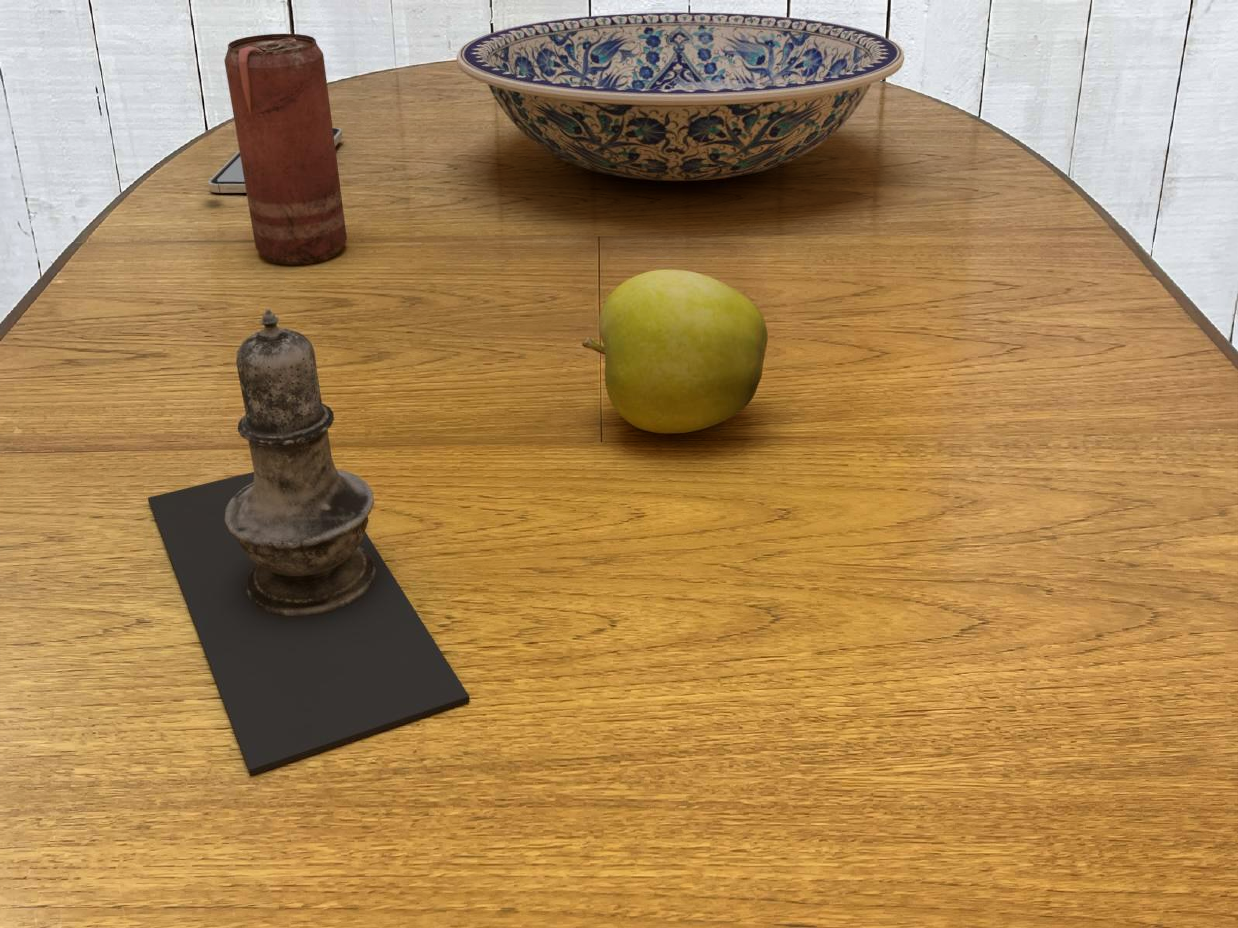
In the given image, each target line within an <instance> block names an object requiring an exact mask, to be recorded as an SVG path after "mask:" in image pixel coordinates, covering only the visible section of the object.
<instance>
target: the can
mask: <svg viewBox="0 0 1238 928" xmlns="http://www.w3.org/2000/svg"><path fill="white" fill-rule="evenodd" d="M224 67H225V71H226V72H225V73H226V79H227V85H228V92H229V97H230V103H231V109H232V114H233V121H234V127H235V133H236V139H237V142H238V143H237V145H238V151H240V157H241V163H242V169H243V175H244V181H245V187H246V193H245V194H246V197H247V198H246V199H247V204H248V210H249V217H250V223H251V229H252V234H253V240H254V246H255V249H256V251H257V252H258V254H259V255H260V256H261V257H262V258H263V259H264V260H266V261H267V262H269V263H273V264H276V265H281V266H282V265H285V266H302V265H304V266H305V265H310V264H316V263H320V262H324V261H328V260H330V259H333V258H334V257H337V256H338V255H339V254H341V252H342V251H343V250H344V247H345V245H346V243H347V239H348V235H347V228H346V221H345V214H344V213H345V212H344V206H343V198H342V189H341V182H340V173H339V166H338V159H337V151H336V146H335V142H334V134H333V120H332V111H331V104H330V96H329V88H328V87H329V86H328V82H327V81H328V79H327V72H326V66H325V56H324V53H323V50H322V49H321V47H319V45H318V43H317V39H316V38H314V36H310V35H307V34H300V33H267V34H257V35H251V36H246V37H242V38H238V39H235V40H233V41H231V42H230V41H229V43H228V44H227V51H226V54H225V57H224Z"/></svg>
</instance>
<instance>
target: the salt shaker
mask: <svg viewBox="0 0 1238 928" xmlns="http://www.w3.org/2000/svg"><path fill="white" fill-rule="evenodd" d="M279 321H280V318H279V317H278V316H276V314H275V313H274V312H272V311H271V310H270V309H266V310H265V313H264V314H263V315H262V318H261V319H260V320H259V322H260V324H262V325H263V326H264V328H262V329H260V330H259V331H256V332H255V333H253V334H251V335H250V336H248V337H247V338H246V339H245V340H243V341H242V342H241V344H240V345H239V347H238V349H237V351H236V362H235V363H236V368H237V374H238V379H239V385H240V390H241V397H242V401H243V407H244V412H245V413H244V415H242V417H241V418H240V420H239V421H238V423H237V431H238V433H239V435H240V436H241V437H242V438H243V439H244V440H246V441H247V442H248V447H249V451H250V458H251V461H252V468H253V472H254V482H253V483H251V484H249V485H248V486H246V487H244V488H242V489H241V490H240V491H239V492H238V493H237V494H236V495H235V496H234V497H233V498H232V499H231V500H230V502H229V504H228V506H227V507H226V509H225V519H224V520H225V523H226V525H227V527H228V529H229V531H230V532H231V533H232V534H234V535H235V536H236V537H237V540H238V542H239V544H240V546H241V547H242V549H243V550H244V551H245V552H246V554H247V555H248V556H249V558H250V559H251V560H252V561H253V562H255V563H256V565H255V566H254V567H253V568H252V569H251V571H250V573H249V575H248V577H247V579H246V591H247V593H248V595H249V597H250V599H251V601H253V602H254V603H255V604H256V605H257V606H258V607H260V608H262V609H264V610H267V611H269V612H271V613H276V614H282V615H287V616H306V615H313V614H320V613H324V612H327V611H331V610H334V609H337V608H340V607H342V606H344V605H346V604H348V603H350V602H352V601H354V600H355V599H357V598H358V597H359V596H361V595H362V594H363V593H365V592H366V590H367V589H368V588H369V587H370V585H371V584H372V583H373V580H374V577H375V574H376V569H375V561H374V560H373V558H372V557H371V555H370V554H369V553H368V552H367V551H365V550H364V549H362V548H361V547H359V545H360V544H361V541H362V539H363V536H364V533H365V532H366V530H367V527H368V524H369V516H370V514H371V512H372V510H373V507H374V504H375V500H374V491H373V489H372V488H371V486H370V485H369V483H368V482H366V481H365V480H364V479H363V478H361V477H359V476H358V475H357V474H354V473H352V472H348V471H347V470H342V469H338V468H336V465H335V463H334V459H333V457H332V449H331V443H330V437H329V428H330V427H332V426H333V423H334V421H335V414H334V411H333V410H332V408H331V407H330V406H328V405H327V404H324V403H323V402H322V395H321V388H320V380H319V374H318V367H317V359H316V354H315V349H314V346H313V344H312V342H311V341H310V340H309V339H308V338H307V337H306V336H305V335H304V334H302V333H300V332H299V331H295V330H292V329H289V328H283V327H281V326H278V325H277V324H278V323H279Z"/></svg>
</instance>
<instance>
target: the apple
mask: <svg viewBox="0 0 1238 928" xmlns="http://www.w3.org/2000/svg"><path fill="white" fill-rule="evenodd" d="M598 317H599V318H598V331H599V336H600V339H601V341H602V343H603V345H602V344H600V343H598V342H596V341H595V340H593V339H592V337H590V336H586V337H585V340H584V341H583V342H581V346H582V347H584V348H586V349H590V350H593V351H595V352H597V353H598V354H599V353H600V354H601V355H604V366H605V367H604V381H605V382H604V383H605V387H606V392H607V396H608V399H609V400H610V403H611V404H612V407H613V408H614V409H615V411H616V412H617V413H618V415H619V416H620V417H621V418H622V419H623V420H625V421H626V422H627V423H628V424H630V425H632V426H634V427H635V428H638V429H640V430H642V431H646V432H650V433H656V434H682V433H692V432H696V431H700V430H704V429H707V428H710V427H713V426H715V425H719V424H721V423H724V422H725V421H727V420H730V419H732V418H733V417H735V416H737V415H738V414H739V413H740V412H742V411H744V409H745V408H746V407H747V406H748V405H749V404H750V402H751V401H752V400H753V398H754V397H755V395H756V392H757V390H758V387H759V384H760V382H761V379H762V376H763V369H764V362H765V357H766V350H767V345H768V341H769V340H768V339H769V338H768V335H769V333H768V329H767V324H766V323H767V322H766V320H765V317H764V315H763V314H762V312H761V310H760V309H759V307H758V306H757V305H756V304H755V303H754V302H753V301H752V300H751V299H750V298H748V297H747V296H746V295H744V294H743V293H741V292H740V291H738V290H736V289H735V288H734V287H731V286H730V285H727V284H725V283H724V282H722V281H720V280H718V279H716V278H713V277H711V276H708V275H705V274H702V273H699V272H695V271H690V270H683V269H655V270H649V271H646V272H643V273H640V274H636V275H635V276H633V277H630V278H629V279H627V280H625V281H624V282H622V283H621V284H619V285H618V286H617V287H616V288H615V289H614V290H613V291H612V292H611V293H610V294H609V295H608V296H607V298H606V299H605V301H604V302H603V304H602V307H601V309H600V311H599V316H598Z"/></svg>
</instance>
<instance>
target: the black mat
mask: <svg viewBox="0 0 1238 928" xmlns="http://www.w3.org/2000/svg"><path fill="white" fill-rule="evenodd" d="M253 482H254V471H251V472H248V473H244V474H243V473H242V474H238V475H236V476H230V477H226V478H222V479H218V480H215V481H211V482H207V483H202V484H199V485H195V486H189V487H186V488H181V489H178V490H174V491H173V490H172V491H169V492H165V493H161V494H157V495H152V496H149V497H147V502H148V504H149V508H150V511H151V512H152V515H153V518H154V521H155V523H156V526H157V529H158V531H159V535H160V537H161V539H162V542H163V544H164V548H165V550H166V554H167V556H168V558H169V561H170V563H171V566H172V569H173V573H174V574H175V577H176V580H177V582H178V585H179V588H180V591H181V593H182V596H183V598H184V602H185V604H186V607H187V610H188V612H189V614H190V618H191V621H192V623H193V626H194V628H195V631H196V633H197V636H198V637H197V638H198V639H199V642H200V645H201V647H202V650H203V653H204V656H205V658H206V660H207V663H208V666H209V669H210V672H211V674H212V677H213V681H214V682H215V685H216V688H217V691H218V692H219V696H220V698H221V701H222V704H223V706H224V710H225V712H226V715H227V718H228V720H229V723H230V725H231V728H232V731H233V733H234V737H235V739H236V742H237V744H238V747H239V750H240V752H241V755H242V757H243V758H242V759H243V760H244V763H245V766H246V769H247V771H248V774H249V776H251V777H252V776H254V775H257V774H261V773H263V772H266V771H269V770H272V769H276V768H278V767H281V766H284V765H287V764H290V763H294V762H296V761H299V760H303V759H305V758H308V757H311V756H314V755H316V754H317V755H318V754H321V753H323V752H326V751H329V750H332V749H334V748H338V747H341V746H344V745H347V744H350V743H352V742H356V741H358V740H361V739H364V738H367V737H371V736H373V735H376V734H379V733H382V732H385V731H388V730H390V729H393V728H397V727H400V726H402V725H405V724H409V723H411V722H415V721H417V720H420V719H423V718H426V717H429V716H432V715H435V714H438V713H441V712H444V711H447V710H450V709H453V708H456V707H458V706H462V705H465V704H468V703H470V702H471V700H470V695H469V693H468V692H467V689H465V686H464V685H463V684H462V682H461V681H460V679H459V678H458V675H457V674H456V673H455V671H454V670H453V668H452V666H451V665H450V663H449V662H448V660H447V658H446V657H445V655H444V654H443V652H442V651H441V648H440V647H439V646H438V644H437V643H436V641H435V640H434V638H433V637H432V635H431V633H430V632H429V630H428V629H427V627H426V626H425V623H424V622H423V621H422V618H421V617H420V615H419V614H418V613H417V611H416V609H415V608H414V606H413V605H412V603H411V602H410V600H409V599H408V598H409V597H407V595H406V594H405V592H404V590H403V589H402V587H401V585H400V584H399V582H398V581H397V579H396V578H395V576H394V575H393V572H392V571H391V570H390V568H389V567H388V565H387V564H386V562H385V561H384V559H383V558H382V556H381V554H380V552H379V551H378V549H377V548H376V546H375V544H374V543H373V542H372V540H371V538H370V537H369V535H368V534H367V532H366V531H365V533H364V536H363V539H362V541H361V544H360V545H359V547H361V548H362V549H364V550H365V551H367V552H368V553H369V554H370V555H371V557H372V558H373V560H374V561H375V569H376V574H375V577H374V580H373V583H372V584H371V585H370V587H369V588H368V589H367V590H366V592H365V593H363V594H362V595H361V596H359V597H358V598H357V599H355V600H354V601H352V602H350V603H348V604H346V605H344V606H342V607H340V608H337V609H334V610H331V611H327V612H324V613H320V614H313V615H306V616H287V615H282V614H276V613H271V612H269V611H267V610H264V609H262V608H260V607H258V606H257V605H256V604H255V603H254V602H253V601H251V599H250V597H249V595H248V593H247V591H246V579H247V577H248V575H249V573H250V571H251V569H252V568H253V567H254V566H255V565H256V563H255V562H253V561H252V560H251V559H250V558H249V556H248V555H247V554H246V552H245V551H244V550H243V549H242V547H241V546H240V544H239V542H238V540H237V537H236V536H235V535H234V534H232V533H231V532H230V531H229V529H228V527H227V525H226V523H225V520H224V519H225V509H226V507H227V506H228V504H229V502H230V500H231V499H232V498H233V497H234V496H235V495H236V494H237V493H238V492H239V491H240V490H241V489H242V488H244V487H246V486H248V485H249V484H251V483H253Z"/></svg>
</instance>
